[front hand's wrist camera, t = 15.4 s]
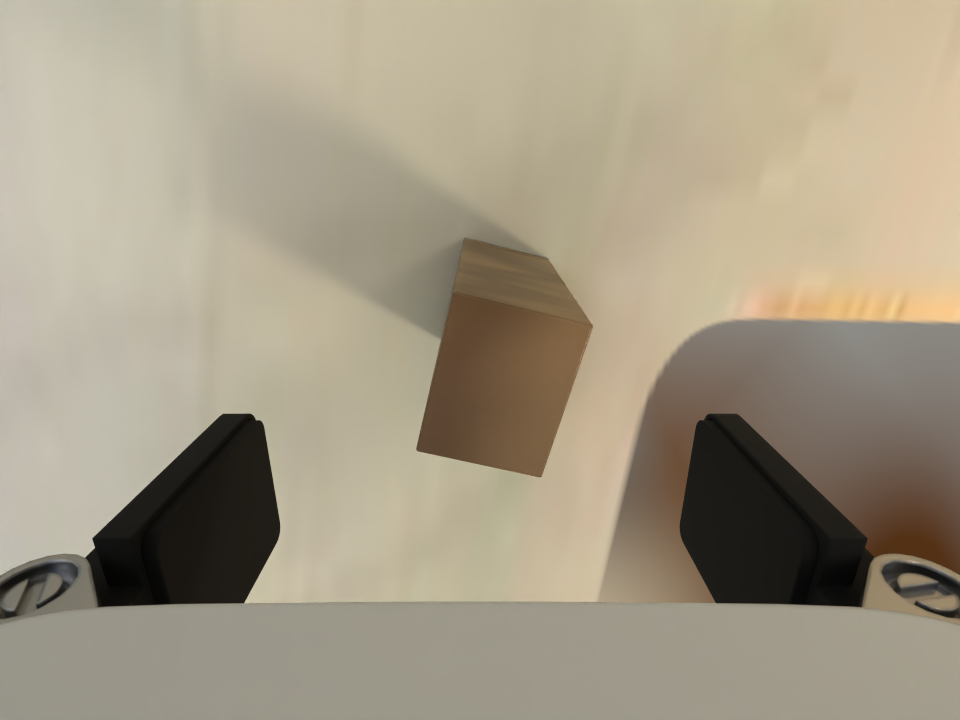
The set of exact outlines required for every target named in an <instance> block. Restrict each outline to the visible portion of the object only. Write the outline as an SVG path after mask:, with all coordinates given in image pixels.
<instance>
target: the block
mask: <svg viewBox="0 0 960 720" xmlns="http://www.w3.org/2000/svg"><path fill="white" fill-rule="evenodd" d="M592 328H593V325H592V324H591V322H590V321H589V319H588V318H587V316H586V315H585V313H584V312H583V310H582V309H581V307H580V306H579V304H578V303H577V301H576V300H575V298H574V297H573V295H572V294H571V292H570V291H569V289H568V288H567V287H566V285H565V284H564V282H563V281H562V279H561V278H560V276H559V275H558V273H557V272H556V270H555V269H554V267H553V266H552V264H551V263H550V261H549V260H548V259H547V258H543V257H539V256H535V255H531V254H527V253H523V252H519V251H515V250H512V249H508V248H504V247H500V246H496V245H492V244H488V243H484V242H480V241H476V240H472V239H468V238H465V239H464V243H463V247H462V251H461V256H460V260H459V264H458V268H457V273H456V277H455V281H454V286H453V290H452V294H451V298H450V303H449V307H448V311H447V316H446V320H445V324H444V329H443V333H442V337H441V341H440V346H439V350H438V355H437V359H436V364H435V368H434V372H433V377H432V381H431V386H430V390H429V395H428V399H427V403H426V408H425V412H424V417H423V421H422V426H421V430H420V434H419V439H418V443H417V448H416V449H417V451H419V452H424V453H429V454H433V455H438V456H443V457H447V458H452V459H457V460H461V461H466V462H471V463H475V464H480V465H485V466H489V467H494V468H499V469H503V470H508V471H513V472H517V473H522V474H527V475H531V476H536V477H541V476H542V474H543V471H544V468H545V465H546V462H547V459H548V456H549V453H550V450H551V448H552V445H553V442H554V439H555V436H556V433H557V430H558V427H559V424H560V421H561V418H562V415H563V413H564V410H565V407H566V404H567V401H568V398H569V395H570V392H571V389H572V386H573V383H574V380H575V378H576V375H577V372H578V369H579V366H580V363H581V360H582V357H583V354H584V351H585V348H586V345H587V343H588V340H589V337H590V334H591V331H592Z"/></svg>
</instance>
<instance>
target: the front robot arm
mask: <svg viewBox="0 0 960 720" xmlns="http://www.w3.org/2000/svg"><path fill="white" fill-rule="evenodd" d="M279 534H280V520H279V514H278V508H277V502H276V496H275V490H274V484H273V478H272V472H271V466H270V460H269V454H268V448H267V442H266V435H265V429H264V425H263V423H262V422H261V421H260V420H256V419H255V417H254V416H253V415H252V414H222V415H221V416H220V417H219V418H217V419H216V420H215V421H214V422H213V423H212V424H211V425H210V426H209V427H208V428H207V429H206V430H205V431H204V432H203V433H202V434H201V435H200V436H199V437H198V438H197V439H196V440H195V441H194V442H192V443H191V444H190V445H189V446H188V447H187V448H186V449H185V450H184V451H183V452H182V453H181V454H180V455H179V456H178V457H177V458H176V459H175V460H174V461H173V462H172V463H171V464H170V465H168V466H167V467H166V468H165V469H164V470H163V471H162V472H161V473H160V474H159V475H158V476H157V477H156V478H155V479H154V480H153V481H152V482H151V483H150V484H149V485H148V486H147V487H146V488H145V489H143V490H142V491H141V492H140V493H139V494H138V495H137V496H136V497H135V498H134V499H133V500H132V501H131V502H130V503H129V504H128V505H127V506H126V507H125V508H124V509H123V510H122V511H121V512H119V513H118V514H117V515H116V516H115V517H114V518H113V519H112V520H111V521H110V522H109V523H108V524H107V525H106V526H105V527H104V528H103V529H102V530H101V531H100V532H99V533H98V534H97V535H95V536H94V537H93V538H92V539H93V542H94V545H95V549H94V550H93V551H92V552H90V553H89V554H88V555H87V556H86V557H85V558H84V557H82V556H79V555H75V554H59V555H52V556H46V557H43V558H40V559H36V560H33V561H29V562H27V563H25V564H22V565H20V566H18V567H15V568H13V569H11V570H9V571H7V572H6V573H4V574H2V575H0V720H960V576H959V575H958V574H956V573H954V572H953V571H951V570H949V569H947V568H945V567H942V566H940V565H938V564H935V563H933V562H930V561H927V560H924V559H920V558H917V557H914V556H908V555H901V554H885V555H881V556H878V557H876V558H875V557H874V556H873V555H871V553H869V552H868V551H867V550H866V549H865V545H866V542H867V537H865V535H863V534H862V533H861V532H860V531H859V530H858V529H857V528H856V527H855V526H854V525H853V524H852V523H851V522H850V521H849V520H848V519H847V518H846V517H845V516H844V515H843V514H842V513H841V512H839V511H838V510H837V509H836V508H835V507H834V506H833V505H832V504H831V503H830V502H829V501H828V500H827V499H826V498H825V497H824V496H823V495H822V494H821V493H820V492H819V491H818V490H816V489H815V488H814V487H813V486H812V485H811V484H810V483H809V482H808V481H807V480H806V479H805V478H804V477H803V476H802V475H801V474H800V473H799V472H798V471H797V470H796V469H795V468H794V467H793V466H792V465H790V464H789V463H788V462H787V461H786V460H785V459H784V458H783V457H782V456H781V455H780V454H779V453H778V452H777V451H776V450H775V449H774V448H773V447H772V446H771V445H770V444H769V443H768V442H766V441H765V440H764V439H763V438H762V437H761V436H760V435H759V434H758V433H757V432H756V431H755V430H754V429H753V428H752V427H751V426H750V425H749V424H748V423H747V422H746V421H745V420H744V419H743V418H741V417H740V416H739V415H738V414H708V415H707V416H706V417H705V419H704V420H700V421H699V422H698V423H697V425H696V430H695V435H694V442H693V448H692V454H691V460H690V466H689V472H688V478H687V484H686V490H685V496H684V502H683V508H682V514H681V520H680V534H681V538H682V541H683V543H684V545H685V547H686V548H687V550H688V552H689V554H690V556H691V558H692V560H693V561H694V563H695V565H696V567H697V569H698V571H699V573H700V574H701V576H702V578H703V580H704V582H705V584H706V585H707V587H708V589H709V591H710V593H711V595H712V597H713V598H714V600H715V602H716V603H619V602H329V603H244V602H245V600H246V598H247V597H248V595H249V593H250V591H251V589H252V587H253V585H254V584H255V582H256V580H257V578H258V576H259V574H260V573H261V571H262V569H263V567H264V565H265V563H266V561H267V560H268V558H269V556H270V554H271V552H272V550H273V549H274V547H275V545H276V543H277V541H278V538H279Z"/></svg>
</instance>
